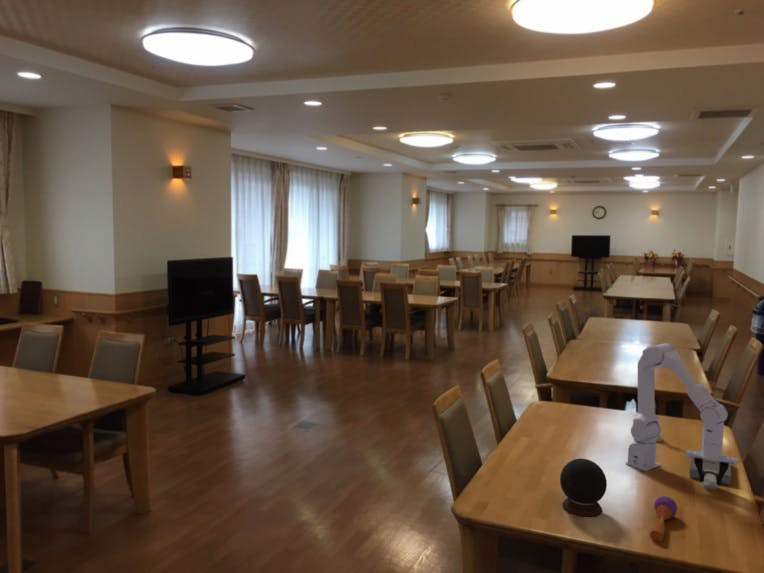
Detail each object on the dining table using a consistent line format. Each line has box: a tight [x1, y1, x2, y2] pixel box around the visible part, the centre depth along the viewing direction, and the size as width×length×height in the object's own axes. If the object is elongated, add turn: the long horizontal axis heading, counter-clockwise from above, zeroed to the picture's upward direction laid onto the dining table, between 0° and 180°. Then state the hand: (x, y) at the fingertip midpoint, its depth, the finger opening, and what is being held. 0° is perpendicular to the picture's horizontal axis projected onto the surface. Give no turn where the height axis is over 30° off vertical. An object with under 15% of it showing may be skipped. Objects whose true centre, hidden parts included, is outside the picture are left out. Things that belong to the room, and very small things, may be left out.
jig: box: [689, 449, 732, 486], centre depth 206 cm, size 20×12×3 cm, turn 151°
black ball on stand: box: [559, 458, 608, 519], centre depth 177 cm, size 13×13×15 cm
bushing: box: [701, 469, 719, 491], centre depth 193 cm, size 4×4×5 cm
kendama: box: [649, 495, 678, 543], centre depth 167 cm, size 6×6×20 cm
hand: (709, 482), depth 193 cm, fingers closed on bushing, 4 cm apart
